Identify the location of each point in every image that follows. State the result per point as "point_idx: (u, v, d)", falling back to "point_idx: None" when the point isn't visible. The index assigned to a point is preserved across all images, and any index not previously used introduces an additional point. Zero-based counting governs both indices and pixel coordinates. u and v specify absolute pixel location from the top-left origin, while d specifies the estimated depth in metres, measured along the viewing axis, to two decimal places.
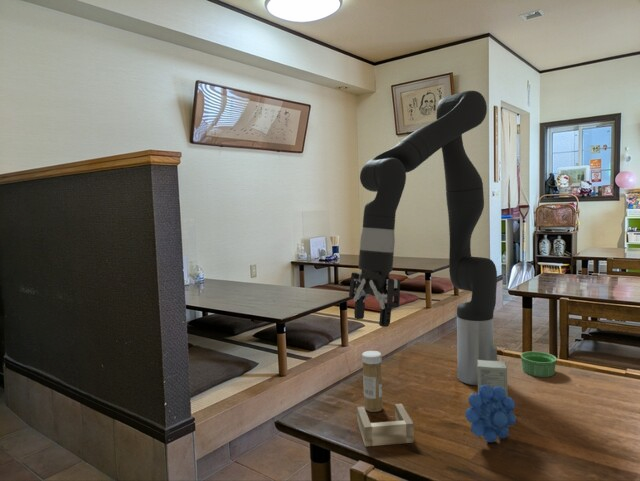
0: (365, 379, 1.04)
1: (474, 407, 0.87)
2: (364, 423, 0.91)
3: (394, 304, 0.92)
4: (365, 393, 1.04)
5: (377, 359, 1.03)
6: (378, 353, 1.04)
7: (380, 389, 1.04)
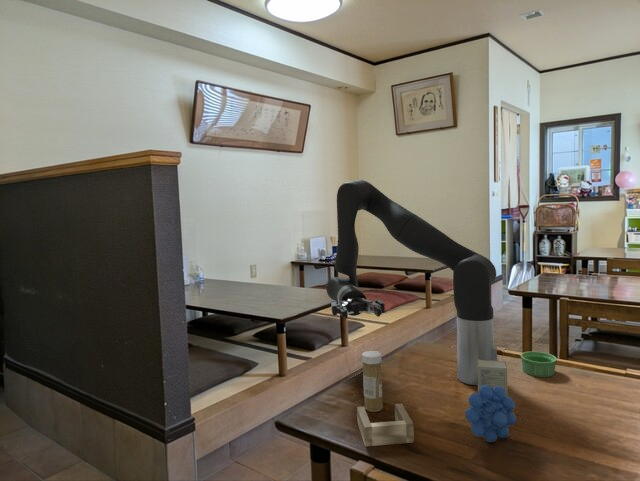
0: (365, 379, 1.04)
1: (474, 407, 0.87)
2: (364, 423, 0.91)
3: (332, 310, 1.19)
4: (365, 393, 1.04)
5: (377, 359, 1.03)
6: (378, 353, 1.04)
7: (380, 389, 1.04)
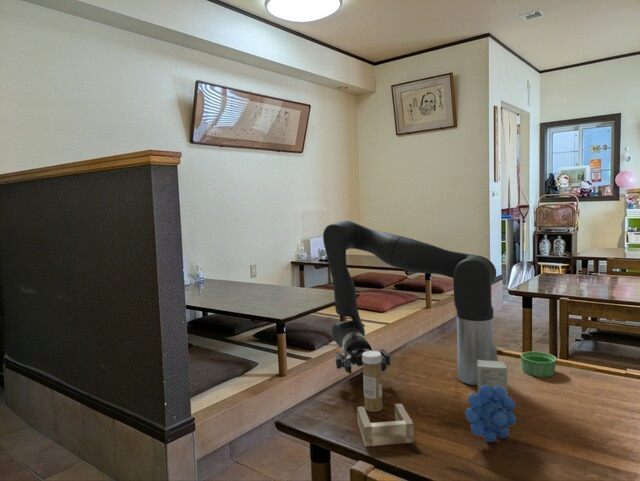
0: (365, 379, 1.04)
1: (474, 407, 0.87)
2: (364, 423, 0.91)
3: (336, 363, 1.17)
4: (365, 393, 1.04)
5: (377, 359, 1.03)
6: (378, 353, 1.04)
7: (380, 389, 1.04)
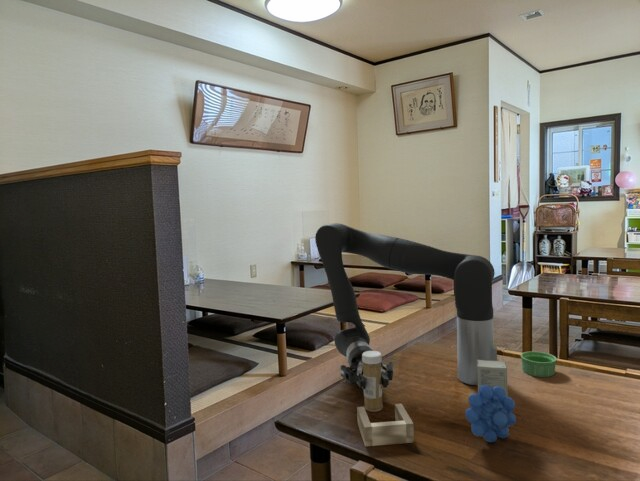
0: (365, 379, 1.04)
1: (474, 407, 0.87)
2: (364, 423, 0.91)
3: (349, 378, 1.07)
4: (365, 393, 1.04)
5: (377, 359, 1.03)
6: (378, 353, 1.04)
7: (380, 389, 1.04)
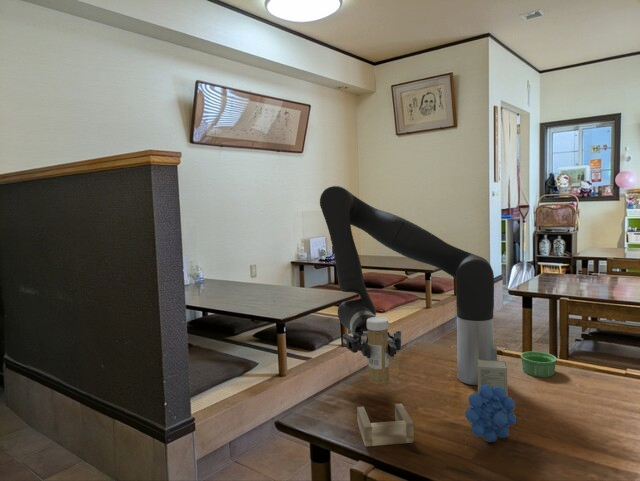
0: (370, 347, 0.93)
1: (474, 407, 0.87)
2: (364, 423, 0.91)
3: (352, 347, 0.96)
4: (370, 363, 0.94)
5: (384, 325, 0.92)
6: (384, 319, 0.94)
7: (386, 359, 0.93)
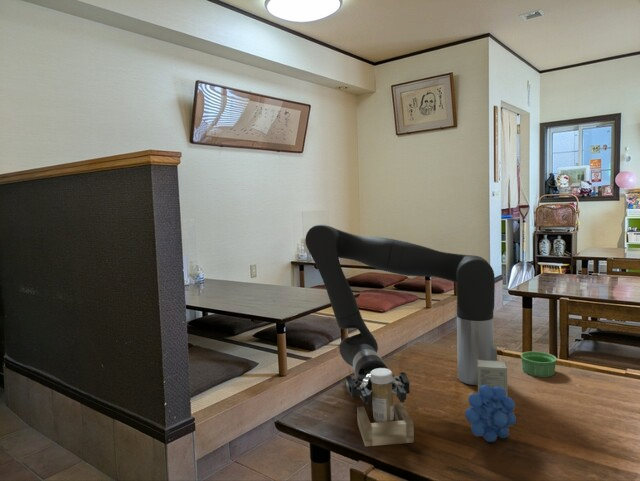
0: (374, 401, 0.92)
1: (474, 407, 0.87)
2: (364, 423, 0.91)
3: (351, 391, 0.96)
4: (375, 416, 0.93)
5: (388, 378, 0.91)
6: (388, 371, 0.93)
7: (392, 411, 0.92)
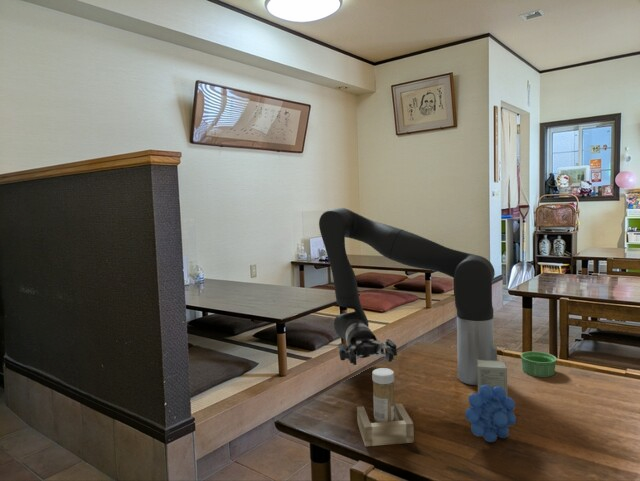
0: (376, 400, 0.93)
1: (474, 407, 0.87)
2: (364, 423, 0.91)
3: (340, 355, 1.10)
4: (375, 416, 0.93)
5: (390, 378, 0.91)
6: (390, 371, 0.93)
7: (392, 412, 0.93)
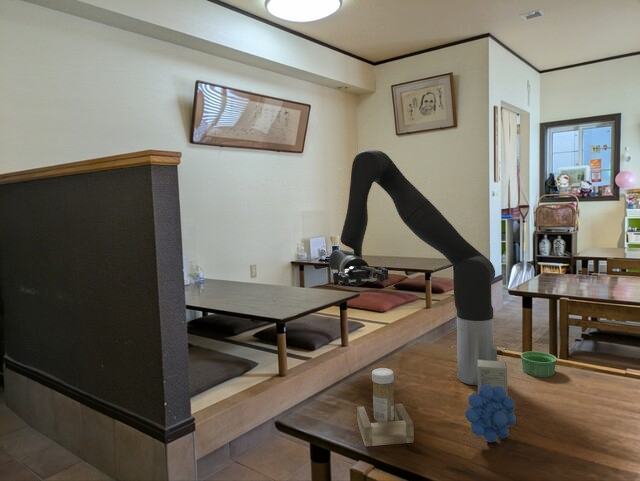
0: (375, 400, 0.93)
1: (474, 407, 0.87)
2: (364, 423, 0.91)
3: (333, 277, 1.14)
4: (375, 416, 0.93)
5: (389, 378, 0.91)
6: (390, 371, 0.93)
7: (392, 412, 0.93)
